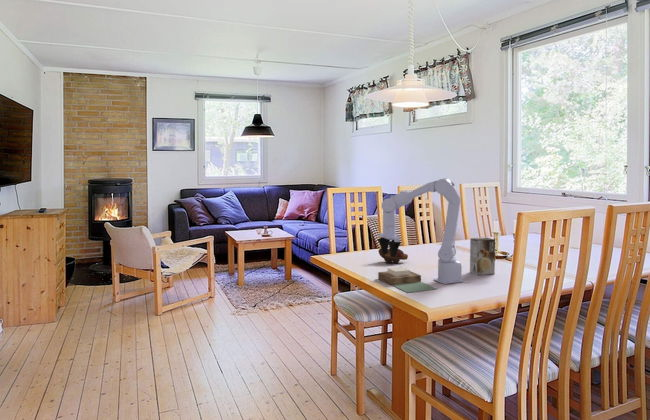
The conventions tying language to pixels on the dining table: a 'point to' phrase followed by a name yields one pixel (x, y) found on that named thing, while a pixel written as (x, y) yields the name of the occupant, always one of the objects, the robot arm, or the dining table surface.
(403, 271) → the coaster
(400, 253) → the decorative turtle
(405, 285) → the rubber mat
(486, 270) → the coffee box
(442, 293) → the dining table surface
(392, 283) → the walnut step
